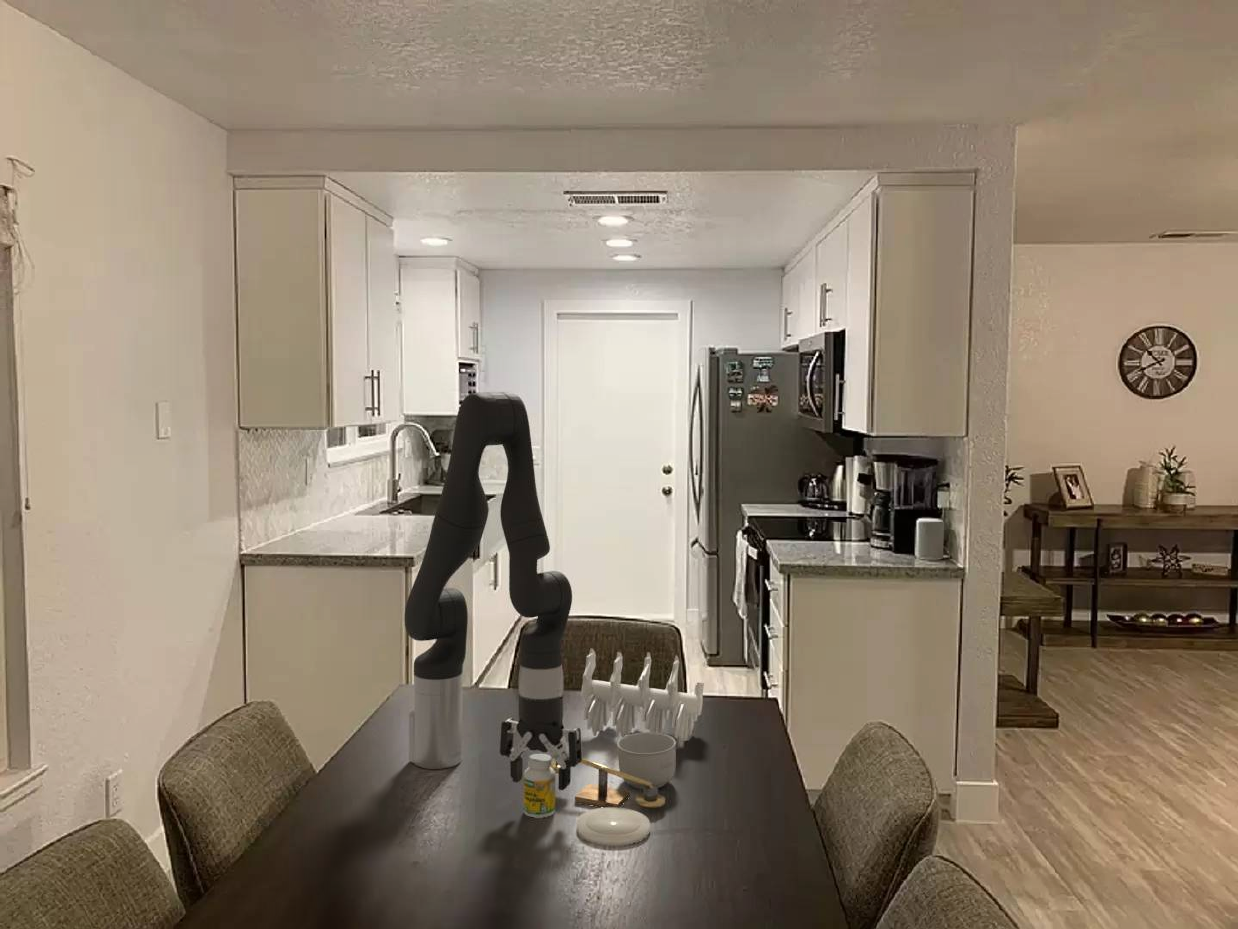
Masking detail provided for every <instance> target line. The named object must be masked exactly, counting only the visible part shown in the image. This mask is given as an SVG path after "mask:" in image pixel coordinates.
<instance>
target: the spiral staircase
mask: <svg viewBox="0 0 1238 929" xmlns="http://www.w3.org/2000/svg"><path fill="white" fill-rule="evenodd" d="M596 656H597V654H596V651H595V650H594V648H590V649H589V654H588V655H587V656H586V658H585V659H586V660H585V669H584V673H583V675H582V685H581V691H580V693H581V695H580V696H581V699H582V701H583V702H584V708H583V709H584V711H583V718H582V719H583V720H584V721H587V722H586V729H587V730H590V729H591V731H592V735H593V736H594V737H596V736H597V733H598V732H602V731H604V727H607V725H608V723H609V721H610V718H611V716H612V715H613V716H612V725H611V726H612V727H615V730H616V731H615V733H616V734H615V735H616V736H619V735H620V737H621V738H622V737H625V736H627V735H630V734H631V733H632V729H635V728H636V725H637V723H638V720H639V717H640V713H642V717H641V722H643V723H645V728H644V730H650V732H651V733H661V734H663V731H664V728H665V726H666V721H668V720H669V717H670V712H671V714H672V720H671V729H675V730H674V731H675V732H674V739H678V743H679V746H683V742H686V741H688V737H690V736H692V732H693V729H694V726H695V722H697V720H698V716H701V714H702V709H703V701H704V699H703V698H704V697H703V694H704V686H705V683H704V682H699V681H698V682H696V684H695V687H694V691H692V693H689V692H688V693H687V692H680V691H678V676H679V675H678V674H679V666H680V659H679V657H678V655H674V661H673V663H672V671H671V672H670V673H671V674H670V677H669V678H668V681H667V682H666V686H665V689H660V688H653V687H650V675H651V666H652V657H651V653H650V652H647V653H646V657H645V658H644V664H643V670H642V673H641V675H640V677H638V679H637V684H636V685H632V684H631V685H630V684H624V683H621V681H622V674H621V673H622V669H623V658H624V656H623V654H622V653H621V652H620V651H617V654H616V657H615V660H614V661H613V670H612V674H611V675H610V679H609V681H604V680H597V679H592V678H593V675H594V674H593V673H594V672H595V668H596V666H597V663H596Z"/></svg>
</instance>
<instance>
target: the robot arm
mask: <svg viewBox="0 0 1238 929" xmlns="http://www.w3.org/2000/svg"><path fill="white" fill-rule="evenodd" d="M456 415H457V416H456V420H455V423H454V424H455V425H454V431H453V436H452V437H453V438H452V444H451V450H450V454H449V455H450V456H449V462H448V467H447V470H446V475H445V478H444V482H443V487H442V490H441V494H440V497H439V501H438V504H437V506H436V510H435V514H434V517H433V521H432V525H431V530H430V534H429V538H428V542H427V545H426V548H425V552H424V555H423V558H422V561H421V564H420V567H419V570H418V571H417V575H416V577H415V580H414V582H413V585H412V588H411V590H410V592H409V594H408V598H407V600H406V604H405V608H404V626H405V627H404V628H405V630H406V632H407V635H408V636H409V637H410V638H411V639H412V640H415V641H418V642H423V641H433V640H436V641H435V642H434V643H433V644H432V646H430V648H428V649H427V650H425V651H424V652H422V653H421V654H419V655H418V656H417V657H416V658H415V659H414V661H413V708H412V709H413V710H412V711H411V712H409V713H408V762H409V763H413V764H414V765H415V766H417V767H420V768H423V769H428V770H429V769H430V770H439V769H440V770H441V769H448V768H451V767H454V766H457V765H458V764H460V763H461V761H462V756H463V755H462V754H463V747H462V746H463V676H464V674H463V672H464V671H463V669H464V667H463V666H464V662H465V659H466V655H467V635H468V624H469V623H468V620H469V618H468V617H469V615H468V606H467V605H468V604H467V601H466V597H465V596H464V594H463V593H462V592H461V591H460V590H459V589H458V588H455V587H454V588H453V587H452V588H451V587H449V588H445V587H446V585H447V583H448V582H449V580H450V579H451V578H452V576H453V575H454V574H455V573H456V572H457V571H458V570H459V569H460V568H461V567H462V565H464V564H465V562H466V561H467V560H469V559H470V557H471V556H472V555H473V554H474V552H475V551H476V550H477V548H478V547H479V545H480V543H481V540H482V538H483V535H484V532H485V528H486V524H487V522H488V516H489V502H488V498H487V496H486V493H485V490H484V488H483V485H482V482H481V480H480V473H479V472H480V471H479V470H480V466H481V461H482V456H483V453H484V451H485V449H486V447H489V446H500V445H501V446H502V447H503V450H504V453H505V457H506V460H507V475H506V483H505V486H504V490H503V494H502V498H501V503H500V512H499V513H500V514H499V515H500V523H501V528H502V531H503V535H504V538H505V543H506V546H507V551H508V554H509V555H508V557H509V559H508V560H509V561H508V567H509V568H508V570H509V571H508V583H509V584H508V587H509V588H508V589H509V591H508V592H509V593H508V594H509V599H510V601H511V605H512V606H513V608H514V610H515V611H516V613H518V615H520V616H521V617H524V618H527V619H528V618H530V619H531V618H532V619H533V618H537V619H536V621H535V623H534V624H533V625H532V626H530V627H529V628H527V629H526V630H524V631H523V632H522V634H521V636H520V646H519V651H520V652H519V653H520V657H519V658H520V659H519V660H520V662H519V664H520V665H519V671H518V672H519V673H518V705H517V706H518V719H519V720H518V721H517V720H515V719H514V718H513V717H508V718H507V719H505V720H503V721H502V722H501V726H500V728H501V729H500V744H499V754H500V755H501V756H502V757H507V758H508V759H509V761H510V763H509V765H510V778H511V779H512V782H513V783H519V782H520V781H522V780H523V769H524V768H523V757H522V755H524V753H525V752H526V750H527V749H529V751H533V752H535V751H540V752H541V753H548V754H549V756H551V759H552V758H553V760H556V761H557V763H558V764H559V766H560V768H559V773H558V785H557V786H558V791H559V790H560V791H564V790H566V789H567V787H568V786H569V785H570V784H571V781H572V780H571V775H572V773H571V772H572V771H571V770H572V768H574V767H576V766H577V765H578V764H581V763H580V762H581V761H582V758H583V755H582V754H583V753H582V752H583V751H582V735H581V734H582V732H581V728H580V727H577V726H576V727H574V728H565V727H564V723H563V718H564V690H565V685H564V672H563V638H564V635H565V632H566V629H567V628H566V627H567V624H568V620H569V617H570V612H571V608H572V604H573V603H572V602H573V591H572V585H571V583H570V580H569V579H568V578H567V576H566V575H565V574H564V573H562V572H561V571H557V570H551V571H550V570H549V571H544V572H539V573H538V561H539V560H541V559H542V558H544V557H545V556H547V555H548V554H549V552H550V549H551V547H550V546H551V544H550V541H549V540H550V539H549V536H548V532H547V529H546V525H545V521H544V518H543V514H542V510H541V507H540V502H539V497H538V492H537V490H538V489H537V485H536V475H535V474H536V473H535V465H534V457H533V456H534V454H533V446H532V436H531V429H530V428H531V427H530V422H529V416H528V411H527V407H526V406H525V403H524V401H523V399H522V398H521V397H520V396H519V395H518V394H516V393H514V392H512V391H511V392H510V391H488V392H487V391H485V392H473V393H469V394H468V395H466V396H465V397H464V399H463V400H462V402H461V404H460V406H459V409H458V411H457V414H456ZM516 731H517V732H518V734H519V736H520V738H521V739H520V740H519V742H518V743H517V744H516V745H515V747H514V733H515V732H516ZM563 737H564V738H565V741H566V742H567V743H568V752H567V747H566V745H565V743H564V742H563V740H562V738H563ZM568 753H569V754H568Z"/></svg>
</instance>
